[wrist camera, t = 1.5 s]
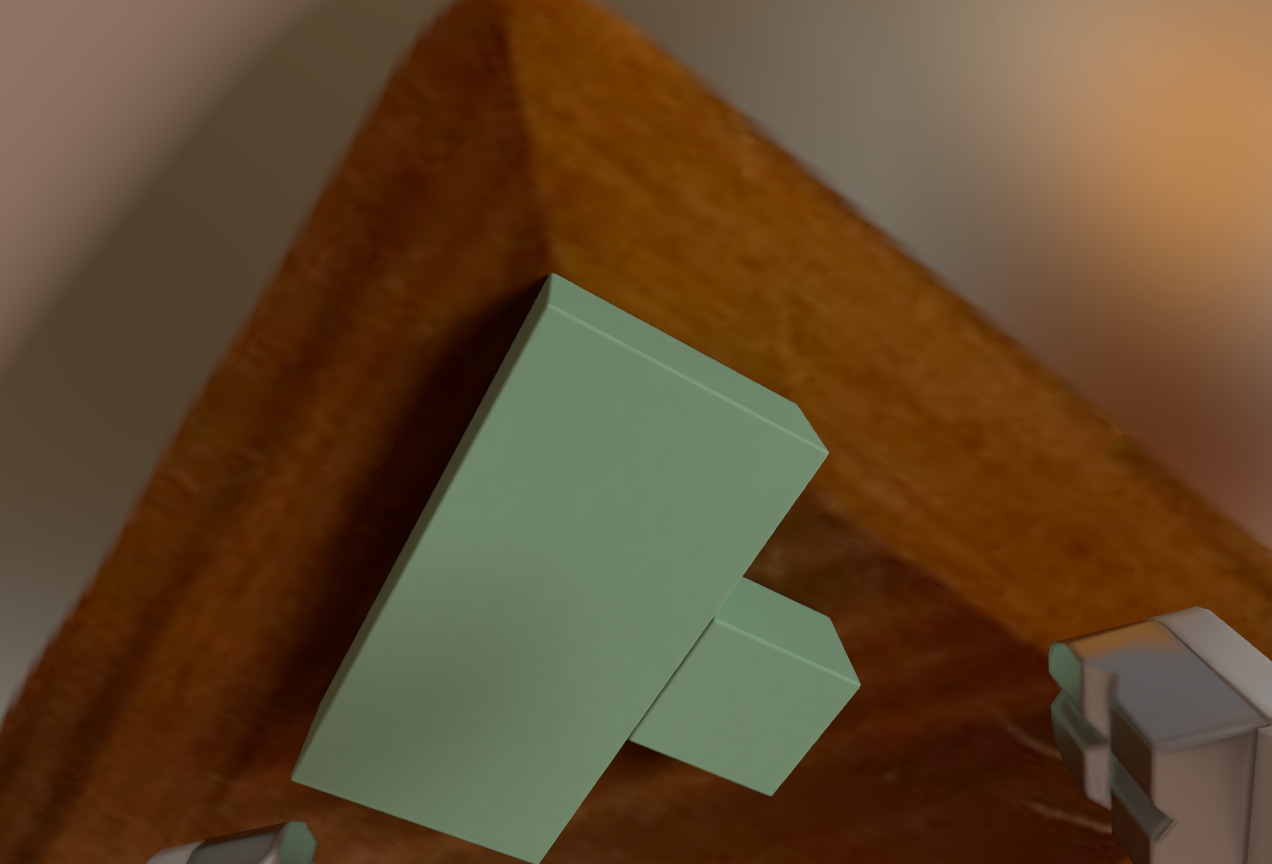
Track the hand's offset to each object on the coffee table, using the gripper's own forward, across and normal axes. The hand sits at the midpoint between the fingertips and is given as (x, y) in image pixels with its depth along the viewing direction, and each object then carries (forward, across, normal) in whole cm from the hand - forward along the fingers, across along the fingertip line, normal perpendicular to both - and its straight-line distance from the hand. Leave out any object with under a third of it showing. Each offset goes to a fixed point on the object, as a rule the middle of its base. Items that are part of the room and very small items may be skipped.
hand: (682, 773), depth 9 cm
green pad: (+10, +1, +4) cm, 11 cm away
